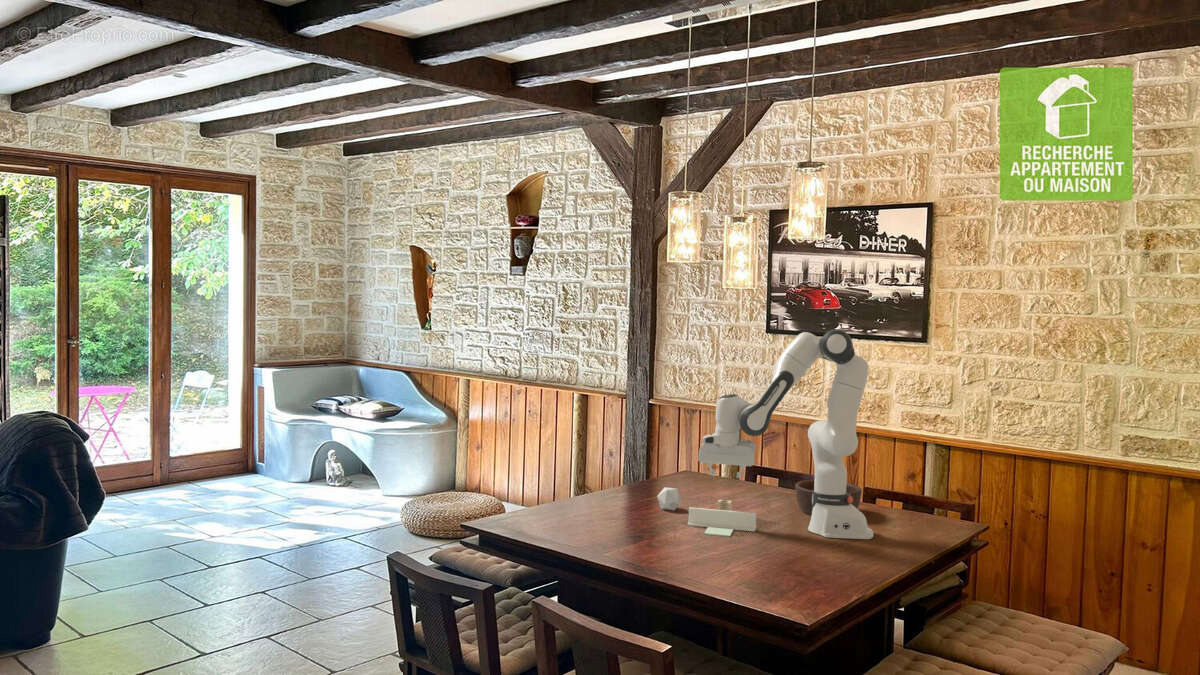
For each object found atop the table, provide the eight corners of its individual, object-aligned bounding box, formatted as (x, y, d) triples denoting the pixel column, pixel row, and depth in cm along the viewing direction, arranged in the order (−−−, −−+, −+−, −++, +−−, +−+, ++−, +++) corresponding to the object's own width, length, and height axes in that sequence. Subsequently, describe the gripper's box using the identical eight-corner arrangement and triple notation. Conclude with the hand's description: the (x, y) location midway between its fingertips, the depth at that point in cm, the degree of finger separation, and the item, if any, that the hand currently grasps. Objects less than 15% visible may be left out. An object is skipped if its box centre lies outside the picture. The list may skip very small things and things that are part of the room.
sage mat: (733, 530, 320) (733, 529, 320) (730, 536, 311) (730, 535, 311) (707, 527, 322) (708, 526, 322) (704, 534, 314) (704, 533, 314)
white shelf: (756, 528, 323) (756, 512, 323) (754, 531, 319) (755, 514, 319) (689, 522, 329) (690, 506, 329) (687, 525, 325) (688, 508, 325)
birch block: (730, 522, 332) (731, 500, 332) (729, 524, 328) (730, 502, 327) (718, 520, 333) (719, 499, 333) (717, 523, 329) (717, 501, 328)
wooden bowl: (868, 521, 339) (869, 494, 338) (801, 519, 339) (802, 492, 339) (851, 506, 364) (852, 480, 363) (788, 504, 364) (789, 478, 364)
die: (666, 514, 343) (682, 494, 343) (649, 499, 348) (665, 479, 348) (673, 518, 351) (689, 497, 351) (656, 503, 355) (672, 483, 355)
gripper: (756, 439, 329) (755, 476, 330) (700, 435, 335) (699, 472, 335) (754, 442, 323) (753, 480, 324) (698, 438, 329) (696, 475, 329)
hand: (725, 476), depth 330 cm, fingers open, 8 cm apart
